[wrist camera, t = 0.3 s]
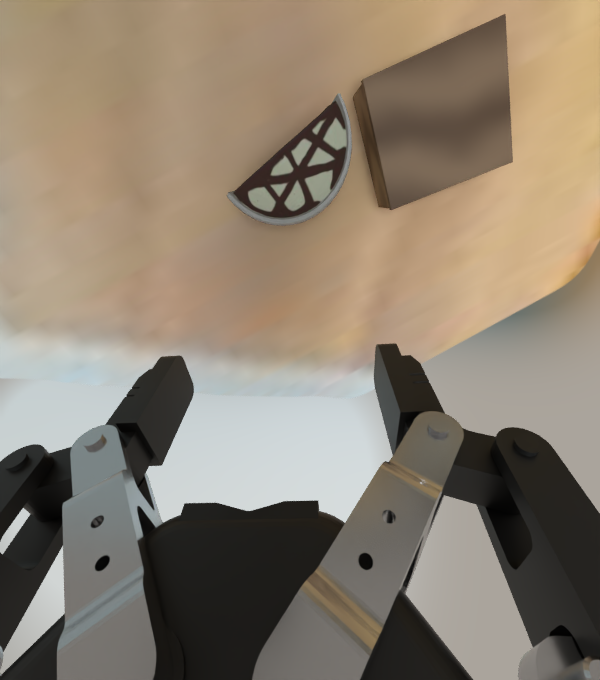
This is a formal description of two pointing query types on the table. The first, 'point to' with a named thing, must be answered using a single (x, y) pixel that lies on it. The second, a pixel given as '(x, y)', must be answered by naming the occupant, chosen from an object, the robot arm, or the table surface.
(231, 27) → the table surface
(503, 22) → the walnut block
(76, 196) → the table surface
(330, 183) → the food container
